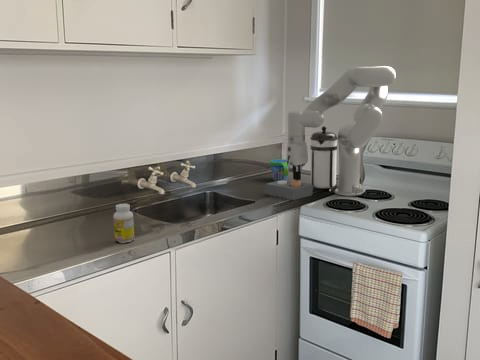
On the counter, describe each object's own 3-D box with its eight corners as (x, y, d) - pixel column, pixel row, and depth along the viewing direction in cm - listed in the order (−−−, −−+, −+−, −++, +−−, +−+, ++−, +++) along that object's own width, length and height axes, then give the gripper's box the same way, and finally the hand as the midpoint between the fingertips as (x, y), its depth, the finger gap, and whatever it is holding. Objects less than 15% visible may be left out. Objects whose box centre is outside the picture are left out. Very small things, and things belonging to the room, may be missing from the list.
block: (312, 195, 247) (312, 184, 246) (293, 200, 239) (293, 189, 238) (284, 189, 259) (284, 179, 258) (265, 194, 251) (265, 183, 250)
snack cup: (266, 177, 287) (265, 158, 285) (285, 176, 290) (285, 157, 287) (274, 183, 272) (274, 163, 270) (294, 182, 275) (294, 162, 272)
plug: (288, 192, 252) (288, 181, 251) (282, 193, 249) (282, 183, 248) (281, 190, 255) (281, 180, 254) (275, 192, 252) (275, 181, 251)
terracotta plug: (302, 191, 245) (303, 180, 244) (296, 192, 242) (296, 182, 241) (295, 189, 249) (295, 179, 247) (289, 191, 246) (289, 180, 245)
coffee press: (346, 190, 256) (348, 126, 250) (317, 193, 250) (318, 128, 244) (327, 183, 272) (328, 123, 265) (299, 186, 266) (299, 125, 260)
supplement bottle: (111, 240, 188) (109, 204, 185) (129, 237, 192) (127, 201, 189) (120, 245, 182) (117, 208, 180) (138, 241, 186) (135, 205, 184)
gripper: (291, 141, 233) (292, 183, 237) (313, 137, 243) (314, 177, 247) (278, 140, 238) (279, 181, 242) (301, 136, 248) (301, 175, 252)
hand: (296, 179), depth 244 cm, fingers closed
